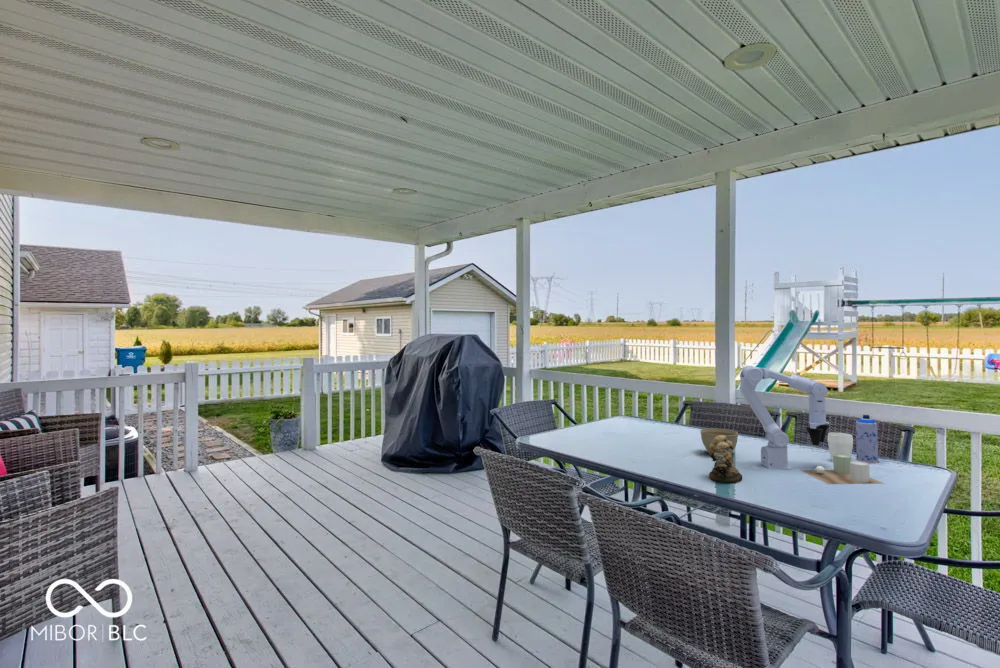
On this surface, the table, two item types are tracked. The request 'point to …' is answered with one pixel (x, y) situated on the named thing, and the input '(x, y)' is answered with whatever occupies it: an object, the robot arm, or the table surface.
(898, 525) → the table surface
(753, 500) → the table surface
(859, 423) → the aerosol can
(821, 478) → the walnut board
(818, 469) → the white marble
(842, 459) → the sage green acorn nut
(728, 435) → the planter bowl
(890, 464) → the table surface
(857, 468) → the white acorn nut
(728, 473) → the owl figurine
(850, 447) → the cup
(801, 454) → the table surface
